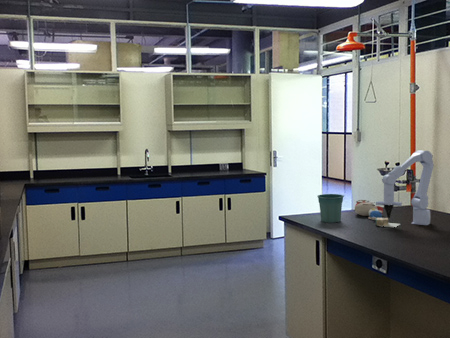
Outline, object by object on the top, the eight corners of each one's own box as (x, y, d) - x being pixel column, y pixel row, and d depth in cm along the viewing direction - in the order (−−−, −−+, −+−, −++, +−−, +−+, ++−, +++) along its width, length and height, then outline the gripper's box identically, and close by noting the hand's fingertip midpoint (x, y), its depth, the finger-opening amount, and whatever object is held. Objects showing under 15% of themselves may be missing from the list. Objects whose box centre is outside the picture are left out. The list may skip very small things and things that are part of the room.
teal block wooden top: (388, 218, 303) (376, 217, 305) (388, 219, 297) (375, 219, 299) (388, 223, 303) (376, 223, 305) (388, 225, 297) (375, 225, 300)
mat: (400, 224, 302) (400, 223, 302) (395, 227, 294) (395, 226, 294) (383, 223, 308) (383, 222, 307) (378, 226, 299) (378, 225, 299)
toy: (362, 210, 312) (352, 197, 341) (360, 225, 314) (350, 211, 343) (392, 212, 311) (380, 199, 340) (390, 227, 313) (378, 213, 342)
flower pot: (333, 224, 307) (333, 198, 305) (312, 221, 319) (311, 196, 318) (349, 220, 318) (349, 195, 316) (327, 217, 330) (327, 193, 329)
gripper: (402, 194, 300) (402, 216, 301) (376, 193, 306) (376, 215, 307) (401, 195, 294) (401, 218, 295) (375, 195, 299) (375, 217, 300)
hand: (388, 217), depth 300 cm, fingers closed
